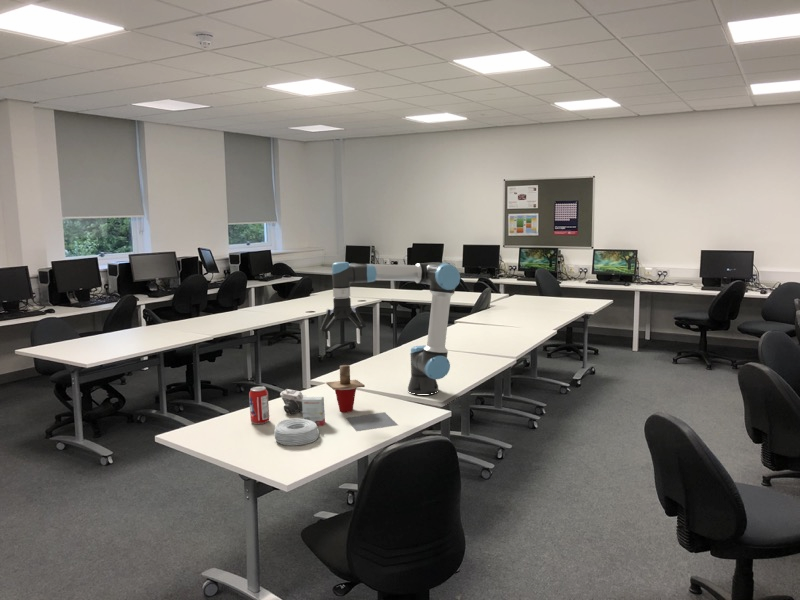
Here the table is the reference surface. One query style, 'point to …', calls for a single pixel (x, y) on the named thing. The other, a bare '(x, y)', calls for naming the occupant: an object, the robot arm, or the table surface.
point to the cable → (296, 432)
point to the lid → (345, 380)
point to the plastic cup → (345, 399)
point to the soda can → (259, 405)
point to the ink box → (314, 410)
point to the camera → (292, 400)
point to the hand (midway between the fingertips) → (343, 344)
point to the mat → (371, 421)
